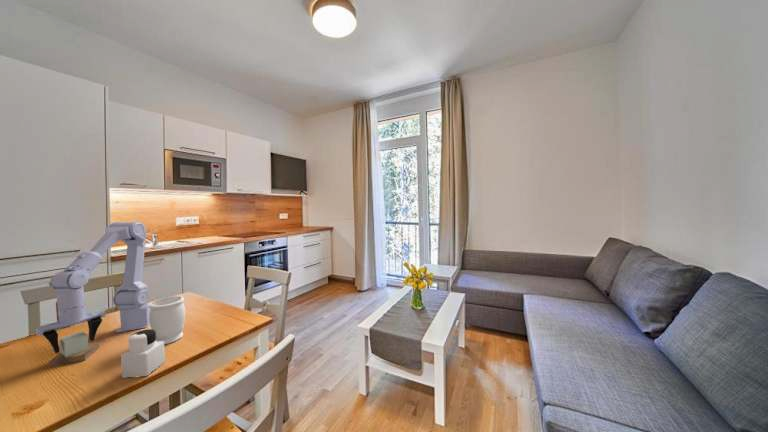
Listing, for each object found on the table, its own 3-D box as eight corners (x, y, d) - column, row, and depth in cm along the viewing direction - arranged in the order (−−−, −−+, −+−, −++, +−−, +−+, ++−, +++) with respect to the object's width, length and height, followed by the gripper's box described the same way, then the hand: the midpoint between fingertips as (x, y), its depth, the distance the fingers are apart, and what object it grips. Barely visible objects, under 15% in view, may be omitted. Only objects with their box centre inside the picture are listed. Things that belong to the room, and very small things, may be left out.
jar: (189, 338, 96) (187, 300, 95) (152, 350, 89) (149, 309, 88) (183, 329, 103) (181, 293, 103) (149, 339, 96) (147, 300, 95)
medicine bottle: (142, 363, 82) (139, 327, 81) (165, 361, 82) (163, 326, 82) (121, 378, 75) (118, 339, 74) (147, 377, 75) (144, 338, 75)
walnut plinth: (99, 347, 91) (98, 342, 91) (85, 360, 83) (84, 354, 83) (67, 353, 87) (66, 348, 87) (49, 367, 80) (48, 361, 80)
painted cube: (83, 345, 89) (82, 331, 88) (88, 349, 86) (87, 334, 86) (61, 352, 84) (59, 338, 84) (65, 357, 82) (64, 342, 82)
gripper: (98, 297, 93) (101, 332, 93) (31, 312, 80) (35, 354, 81) (106, 300, 89) (109, 337, 90) (37, 317, 76) (41, 360, 77)
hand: (75, 345), depth 85 cm, fingers open, 7 cm apart
